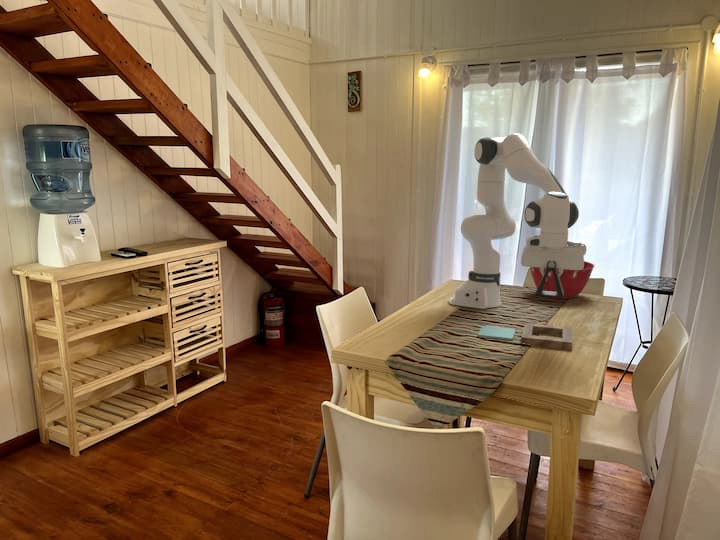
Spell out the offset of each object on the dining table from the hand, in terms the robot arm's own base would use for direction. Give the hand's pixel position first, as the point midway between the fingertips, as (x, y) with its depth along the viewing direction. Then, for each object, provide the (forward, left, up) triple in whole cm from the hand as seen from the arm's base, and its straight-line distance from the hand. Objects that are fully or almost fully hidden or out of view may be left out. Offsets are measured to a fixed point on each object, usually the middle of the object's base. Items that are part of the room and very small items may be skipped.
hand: (550, 280), depth 185 cm
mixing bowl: (+3, +70, -21) cm, 73 cm away
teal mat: (-17, 0, -21) cm, 27 cm away
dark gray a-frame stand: (0, 0, -5) cm, 5 cm away
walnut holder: (0, 0, -21) cm, 21 cm away
